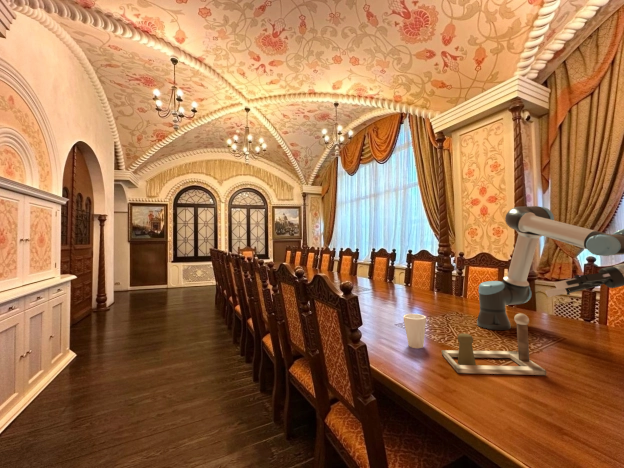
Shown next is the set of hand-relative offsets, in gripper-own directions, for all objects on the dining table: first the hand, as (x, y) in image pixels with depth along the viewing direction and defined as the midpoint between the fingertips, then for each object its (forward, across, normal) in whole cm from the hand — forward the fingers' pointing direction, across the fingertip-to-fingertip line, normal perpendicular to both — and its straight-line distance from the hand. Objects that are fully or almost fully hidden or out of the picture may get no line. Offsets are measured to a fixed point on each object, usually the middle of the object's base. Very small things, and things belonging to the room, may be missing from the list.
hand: (550, 290), depth 110 cm
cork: (+39, -9, -21) cm, 45 cm away
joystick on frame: (+31, -7, -22) cm, 39 cm away
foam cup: (+56, +3, -11) cm, 57 cm away
